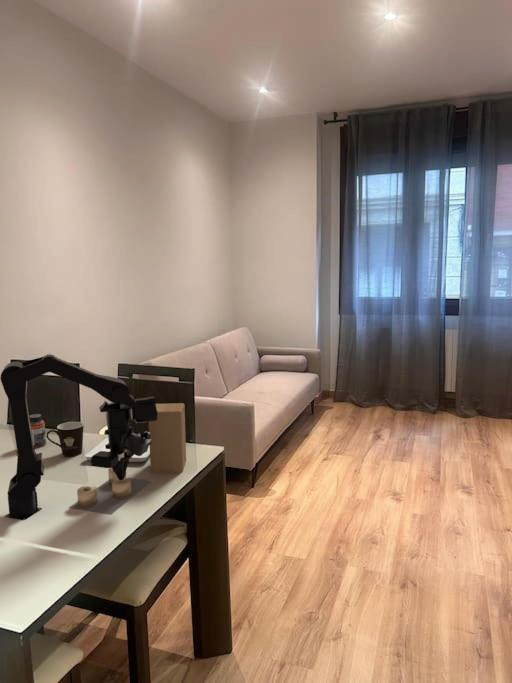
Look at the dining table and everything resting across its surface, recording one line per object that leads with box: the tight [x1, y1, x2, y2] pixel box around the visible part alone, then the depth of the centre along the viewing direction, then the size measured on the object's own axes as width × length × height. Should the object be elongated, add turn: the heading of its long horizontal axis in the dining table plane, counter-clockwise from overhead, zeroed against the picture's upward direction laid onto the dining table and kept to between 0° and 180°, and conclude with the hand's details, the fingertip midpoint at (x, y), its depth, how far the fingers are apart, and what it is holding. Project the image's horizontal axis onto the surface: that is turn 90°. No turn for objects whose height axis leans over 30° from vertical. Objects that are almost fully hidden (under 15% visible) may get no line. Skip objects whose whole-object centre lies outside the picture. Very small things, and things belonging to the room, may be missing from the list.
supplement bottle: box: [29, 413, 47, 449], centre depth 176 cm, size 6×6×11 cm
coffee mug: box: [45, 421, 85, 458], centre depth 168 cm, size 12×9×10 cm
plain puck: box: [112, 477, 131, 499], centre depth 135 cm, size 5×5×4 cm
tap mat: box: [68, 477, 153, 516], centre depth 136 cm, size 21×13×1 cm, turn 162°
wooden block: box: [148, 402, 187, 474], centre depth 154 cm, size 10×10×20 cm
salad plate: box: [84, 436, 150, 463], centre depth 167 cm, size 21×21×3 cm
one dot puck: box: [76, 484, 98, 508], centre depth 130 cm, size 5×5×4 cm
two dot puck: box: [107, 468, 127, 485], centre depth 143 cm, size 5×5×4 cm
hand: (121, 479), depth 135 cm, fingers closed
